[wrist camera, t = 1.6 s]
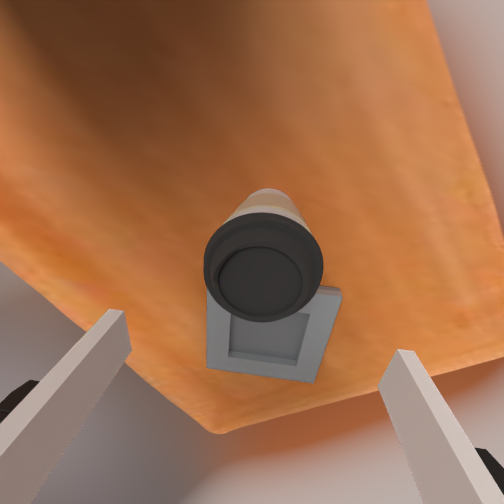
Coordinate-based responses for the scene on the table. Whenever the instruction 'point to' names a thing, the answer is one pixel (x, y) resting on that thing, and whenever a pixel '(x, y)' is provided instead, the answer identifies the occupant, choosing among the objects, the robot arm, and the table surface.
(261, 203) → the coffee cup
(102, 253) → the table surface
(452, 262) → the table surface
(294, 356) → the frame
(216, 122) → the table surface
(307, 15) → the table surface
